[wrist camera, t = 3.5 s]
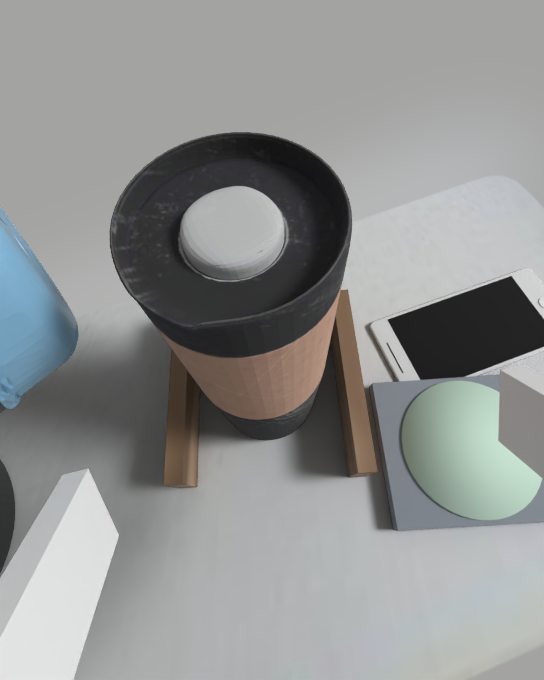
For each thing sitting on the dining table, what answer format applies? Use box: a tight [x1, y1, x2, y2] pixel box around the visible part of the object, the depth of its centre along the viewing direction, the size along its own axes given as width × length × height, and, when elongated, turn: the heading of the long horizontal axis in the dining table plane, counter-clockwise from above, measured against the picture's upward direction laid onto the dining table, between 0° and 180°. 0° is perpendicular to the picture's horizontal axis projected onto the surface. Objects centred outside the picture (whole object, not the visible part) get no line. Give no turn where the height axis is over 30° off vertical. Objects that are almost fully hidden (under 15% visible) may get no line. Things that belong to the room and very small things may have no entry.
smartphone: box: [370, 268, 544, 381], centre depth 31 cm, size 7×16×1 cm, turn 110°
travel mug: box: [110, 132, 352, 440], centre depth 20 cm, size 8×8×20 cm
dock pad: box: [369, 375, 544, 531], centre depth 26 cm, size 12×10×1 cm
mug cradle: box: [163, 290, 378, 488], centre depth 28 cm, size 13×13×4 cm
